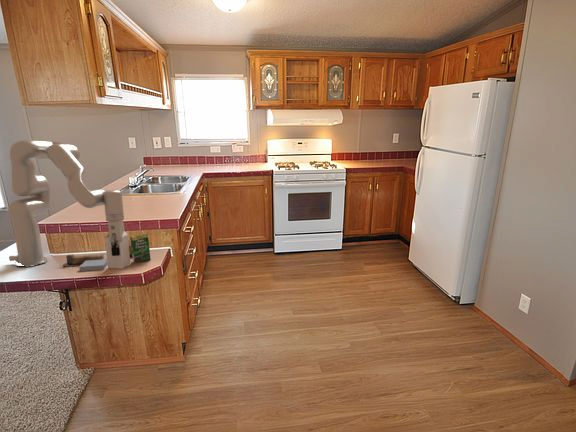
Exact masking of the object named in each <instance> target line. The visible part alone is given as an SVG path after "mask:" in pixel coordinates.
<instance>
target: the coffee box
mask: <svg viewBox="0 0 576 432" xmlns="http://www.w3.org/2000/svg"><path fill="white" fill-rule="evenodd" d="M130 239H131V248H132V255H131V256H132V262H133V263H140V262H145V261H146V262H147V261H151V252H150V251H151V250H150V241H149V234H147V233H146V234H139V235H134V236H130Z"/></svg>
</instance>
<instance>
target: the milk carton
mask: <svg viewBox="0 0 576 432" xmlns="http://www.w3.org/2000/svg"><path fill="white" fill-rule="evenodd" d="M128 240H129V234H128V233H127V232H126V231H124V233H123V236H122V241H121V242H120V241H118V247H119V252H120V255H119V256H112V251H111V242H110V239H109V233H108V234H107V235H106V236H105V237H104V242H105V252H106V259H107V263H108V265H107V268H108V269H124V268H126V267H127V266H129V265H131V257H130V253H129V241H128ZM115 241H117V239H116V236H115ZM116 244H117V242H116Z"/></svg>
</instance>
